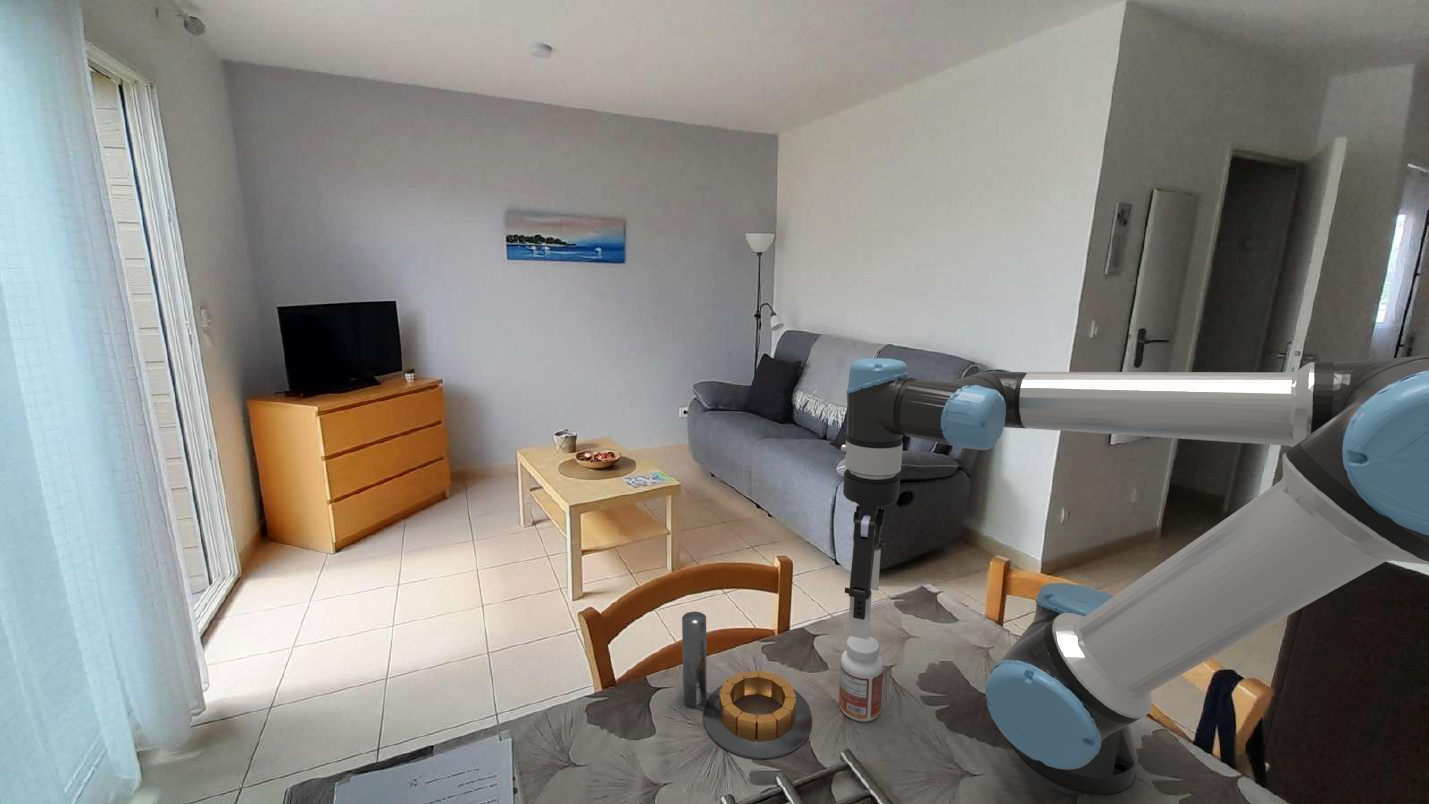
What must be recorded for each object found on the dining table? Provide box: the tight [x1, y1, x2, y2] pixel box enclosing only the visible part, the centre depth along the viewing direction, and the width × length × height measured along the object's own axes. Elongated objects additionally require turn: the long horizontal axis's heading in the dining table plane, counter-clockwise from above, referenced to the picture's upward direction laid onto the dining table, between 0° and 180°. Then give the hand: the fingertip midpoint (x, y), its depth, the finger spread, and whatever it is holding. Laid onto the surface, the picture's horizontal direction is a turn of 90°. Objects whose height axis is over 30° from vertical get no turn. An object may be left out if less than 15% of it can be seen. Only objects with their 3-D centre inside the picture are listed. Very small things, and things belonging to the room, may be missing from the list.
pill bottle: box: [838, 635, 884, 723], centre depth 88 cm, size 6×6×11 cm
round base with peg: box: [681, 611, 813, 760], centre depth 87 cm, size 20×16×14 cm
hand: (864, 610), depth 86 cm, fingers open, 13 cm apart
